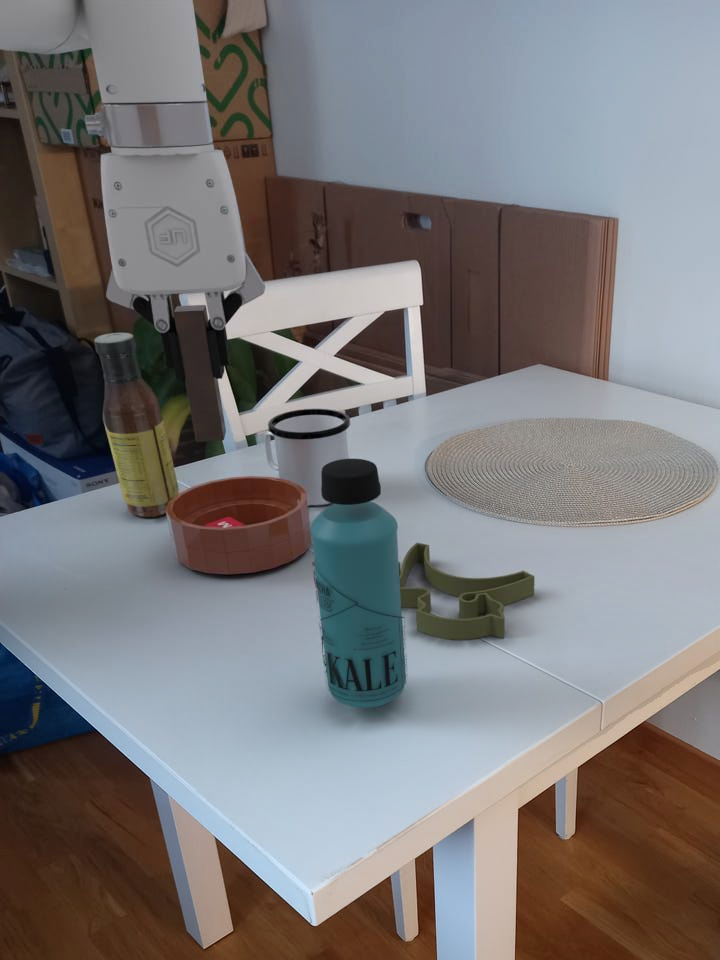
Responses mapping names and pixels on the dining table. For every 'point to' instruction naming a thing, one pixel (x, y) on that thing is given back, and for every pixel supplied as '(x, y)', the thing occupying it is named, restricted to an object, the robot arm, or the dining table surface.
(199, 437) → the stick
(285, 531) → the bowl
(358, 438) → the dining table surface
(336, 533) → the beverage bottle
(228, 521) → the red letter cube
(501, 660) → the dining table surface
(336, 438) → the mug
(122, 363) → the sauce bottle
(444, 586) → the cookie cutter
